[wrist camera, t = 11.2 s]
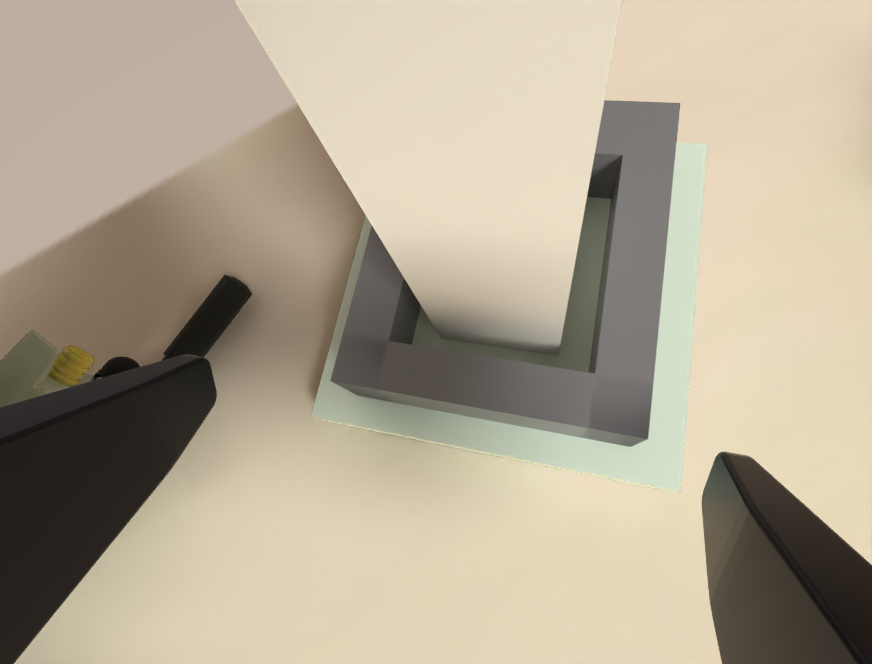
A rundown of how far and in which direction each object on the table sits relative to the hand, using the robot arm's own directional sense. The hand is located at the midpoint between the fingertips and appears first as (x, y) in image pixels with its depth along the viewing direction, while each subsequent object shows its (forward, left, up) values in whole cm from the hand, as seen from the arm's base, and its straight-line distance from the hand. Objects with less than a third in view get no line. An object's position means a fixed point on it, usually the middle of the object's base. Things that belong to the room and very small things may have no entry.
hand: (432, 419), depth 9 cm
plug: (+4, -4, -8) cm, 10 cm away
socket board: (+4, -4, -9) cm, 11 cm away
